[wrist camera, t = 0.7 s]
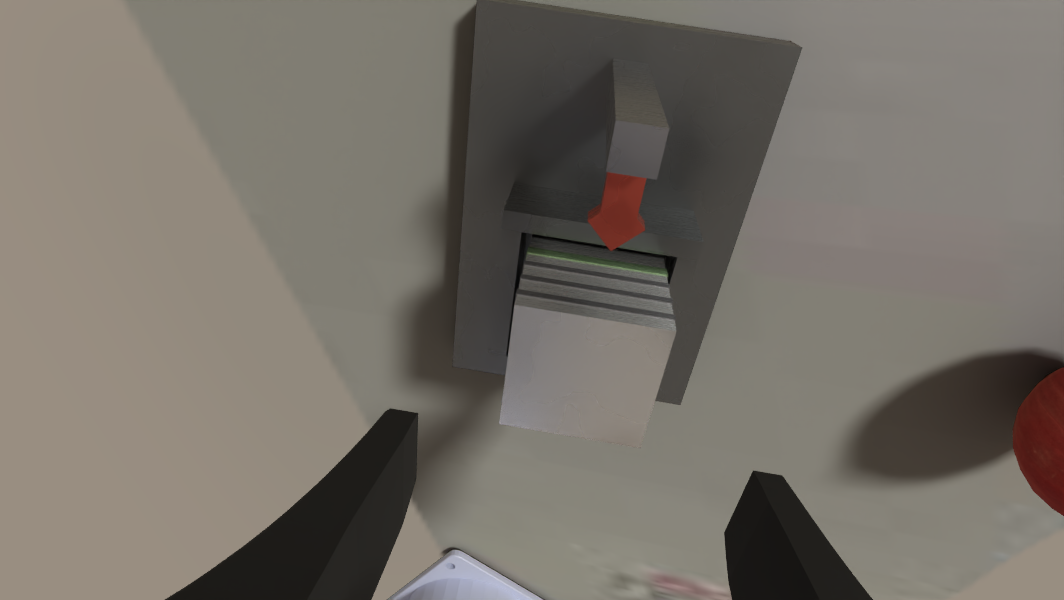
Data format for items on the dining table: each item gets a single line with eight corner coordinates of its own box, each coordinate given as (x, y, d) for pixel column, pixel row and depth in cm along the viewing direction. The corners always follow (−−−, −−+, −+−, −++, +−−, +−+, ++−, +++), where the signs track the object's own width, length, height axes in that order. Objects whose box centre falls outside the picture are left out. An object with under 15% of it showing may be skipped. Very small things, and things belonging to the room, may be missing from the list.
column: (633, 333, 21) (641, 449, 16) (522, 315, 21) (498, 424, 17) (660, 232, 19) (678, 330, 14) (537, 212, 19) (513, 303, 14)
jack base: (677, 385, 24) (704, 561, 17) (459, 348, 24) (400, 507, 17) (790, 41, 17) (911, 106, 10) (484, -5, 17) (404, 29, 11)
